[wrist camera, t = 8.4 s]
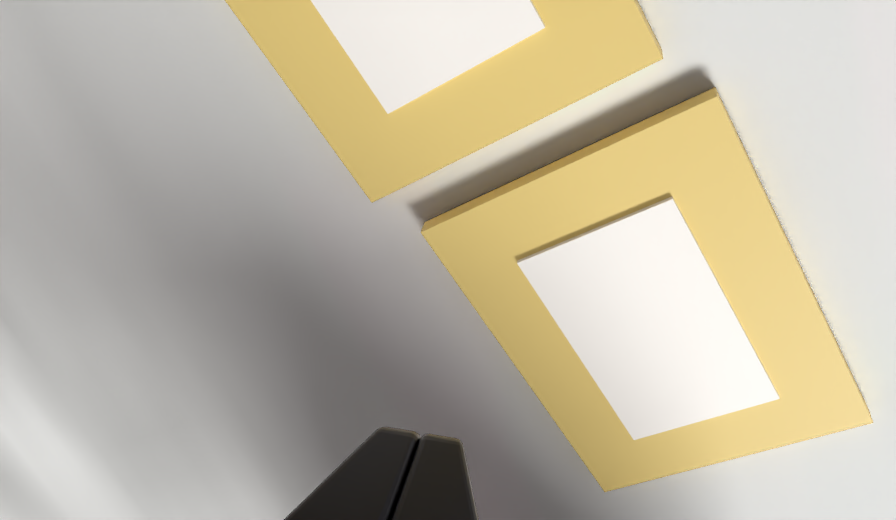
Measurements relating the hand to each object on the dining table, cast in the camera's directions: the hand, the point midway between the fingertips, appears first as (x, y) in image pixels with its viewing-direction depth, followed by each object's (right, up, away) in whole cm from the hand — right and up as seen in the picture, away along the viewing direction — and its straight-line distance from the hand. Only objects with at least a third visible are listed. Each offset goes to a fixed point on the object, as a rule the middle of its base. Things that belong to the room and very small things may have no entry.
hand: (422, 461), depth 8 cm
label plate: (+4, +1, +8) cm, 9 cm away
